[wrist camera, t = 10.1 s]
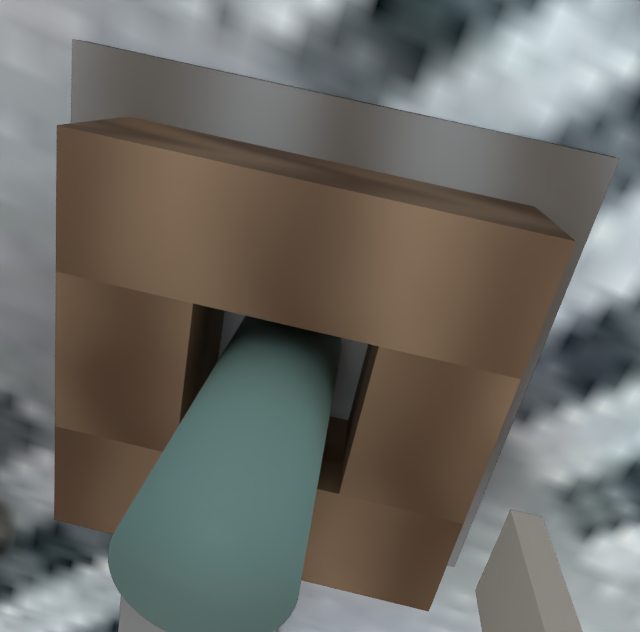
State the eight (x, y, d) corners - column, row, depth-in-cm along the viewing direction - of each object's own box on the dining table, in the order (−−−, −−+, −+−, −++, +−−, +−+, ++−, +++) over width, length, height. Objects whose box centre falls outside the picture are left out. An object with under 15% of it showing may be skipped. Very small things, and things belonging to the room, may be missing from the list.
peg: (232, 376, 22) (104, 619, 12) (246, 284, 21) (111, 477, 11) (330, 398, 22) (280, 662, 12) (351, 308, 21) (316, 526, 11)
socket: (74, 461, 26) (3, 546, 21) (84, 40, 19) (-19, 26, 14) (452, 553, 26) (466, 660, 21) (610, 155, 18) (688, 181, 14)
